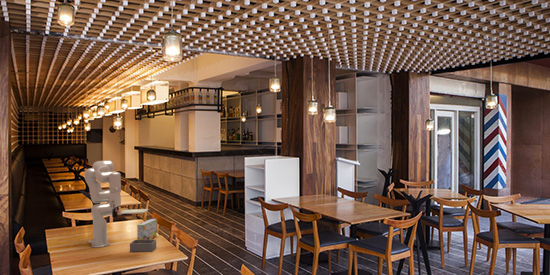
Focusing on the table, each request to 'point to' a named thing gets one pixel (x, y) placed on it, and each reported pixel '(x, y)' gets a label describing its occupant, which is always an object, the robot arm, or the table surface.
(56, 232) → the table surface
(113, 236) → the table surface
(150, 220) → the snack box
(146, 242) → the tub
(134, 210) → the lid
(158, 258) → the table surface
